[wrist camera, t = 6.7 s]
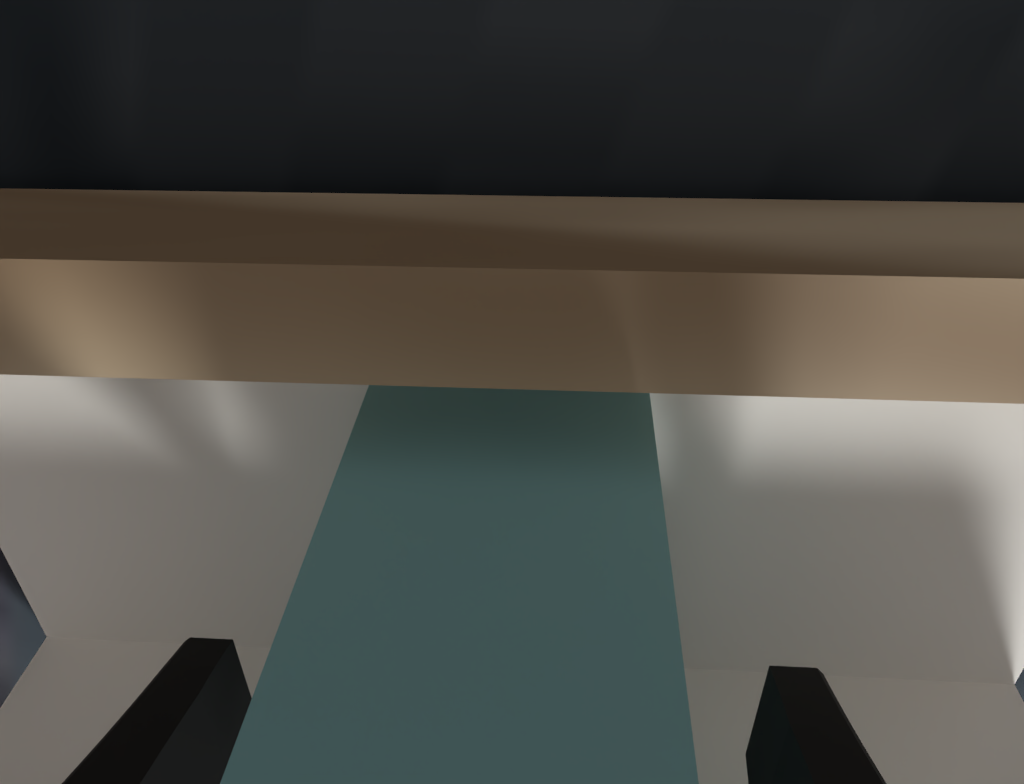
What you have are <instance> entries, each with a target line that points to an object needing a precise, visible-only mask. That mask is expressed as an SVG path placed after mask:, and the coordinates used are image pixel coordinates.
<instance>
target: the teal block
mask: <svg viewBox="0 0 1024 784" xmlns="http://www.w3.org/2000/svg"><path fill="white" fill-rule="evenodd" d="M220 784H699V782H698V774H697V766H696V758H695V751H694V743H693V735H692V727H691V719H690V711H689V703H688V695H687V687H686V679H685V671H684V663H683V655H682V647H681V639H680V631H679V623H678V615H677V607H676V599H675V591H674V583H673V575H672V568H671V560H670V552H669V544H668V536H667V528H666V520H665V512H664V504H663V496H662V488H661V480H660V472H659V464H658V456H657V448H656V440H655V432H654V424H653V416H652V408H651V400H650V393H629V392H594V391H559V390H524V389H490V388H455V387H420V386H385V385H369V386H368V389H367V392H366V394H365V397H364V400H363V402H362V405H361V408H360V410H359V413H358V416H357V418H356V421H355V424H354V426H353V429H352V432H351V434H350V437H349V440H348V442H347V445H346V448H345V451H344V453H343V456H342V459H341V461H340V464H339V467H338V469H337V472H336V475H335V477H334V480H333V483H332V485H331V488H330V491H329V493H328V496H327V499H326V501H325V504H324V507H323V509H322V512H321V515H320V517H319V520H318V523H317V525H316V528H315V531H314V533H313V536H312V539H311V541H310V544H309V547H308V550H307V552H306V555H305V558H304V560H303V563H302V566H301V568H300V571H299V574H298V576H297V579H296V582H295V584H294V587H293V590H292V592H291V595H290V598H289V600H288V603H287V606H286V608H285V611H284V614H283V616H282V619H281V622H280V624H279V627H278V630H277V632H276V635H275V638H274V640H273V643H272V646H271V649H270V651H269V654H268V657H267V659H266V662H265V665H264V667H263V670H262V673H261V675H260V678H259V681H258V683H257V686H256V689H255V691H254V694H253V697H252V699H251V702H250V705H249V707H248V710H247V713H246V715H245V718H244V721H243V723H242V726H241V729H240V731H239V734H238V737H237V739H236V742H235V745H234V748H233V750H232V753H231V756H230V758H229V761H228V764H227V766H226V769H225V772H224V774H223V777H222V780H221V782H220Z"/></svg>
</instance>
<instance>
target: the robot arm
mask: <svg viewBox="0 0 1024 784" xmlns="http://www.w3.org/2000/svg"><path fill="white" fill-rule="evenodd" d="M251 699H252V697H251V694H250V691H249V688H248V685H247V682H246V679H245V676H244V672H243V669H242V666H241V663H240V660H239V657H238V654H237V651H236V647H235V644H234V641H233V639H213V638H193V637H190V638H188V639H187V640H186V641H185V642H184V643H183V644H182V645H181V646H180V647H179V649H178V650H177V651H176V652H175V653H174V655H173V656H172V657H171V658H170V659H169V660H168V662H167V663H166V664H165V665H164V666H163V668H162V669H161V670H160V671H159V672H158V674H157V675H156V676H155V677H154V678H153V680H152V681H151V682H150V683H149V684H148V686H147V687H146V688H145V689H144V690H143V692H142V693H141V694H140V695H139V696H138V697H137V699H136V700H135V701H134V702H133V703H132V705H131V706H130V707H129V708H128V709H127V710H126V711H125V713H124V714H123V715H122V716H121V717H120V718H119V720H118V721H117V722H116V723H115V724H114V725H113V727H112V728H111V729H110V730H109V731H108V732H107V734H106V735H105V736H104V737H103V738H102V739H101V740H100V741H99V743H98V744H97V745H96V746H95V747H94V748H93V749H92V750H91V752H90V753H89V754H88V755H87V756H86V757H85V758H84V759H83V760H82V762H81V763H80V764H79V765H78V766H77V767H76V768H75V769H74V771H73V772H72V773H71V774H70V775H69V776H68V777H67V778H66V779H65V781H64V782H63V783H62V784H220V782H221V780H222V777H223V774H224V772H225V769H226V766H227V764H228V761H229V758H230V756H231V753H232V750H233V748H234V745H235V742H236V739H237V737H238V734H239V731H240V729H241V726H242V723H243V721H244V718H245V715H246V713H247V710H248V707H249V705H250V702H251ZM745 756H746V765H747V774H748V783H749V784H886V782H885V780H884V779H883V777H882V775H881V774H880V772H879V770H878V769H877V767H876V765H875V764H874V762H873V761H872V759H871V757H870V756H869V754H868V752H867V751H866V749H865V747H864V746H863V744H862V742H861V740H860V739H859V737H858V735H857V734H856V732H855V730H854V728H853V727H852V725H851V723H850V721H849V720H848V718H847V716H846V714H845V713H844V711H843V709H842V707H841V705H840V704H839V702H838V700H837V698H836V696H835V695H834V693H833V691H832V689H831V687H830V685H829V684H828V682H827V680H826V678H825V676H824V674H823V673H822V672H821V671H820V670H819V669H818V668H810V667H790V666H769V668H768V672H767V676H766V680H765V683H764V687H763V691H762V694H761V698H760V702H759V706H758V709H757V713H756V717H755V720H754V724H753V728H752V732H751V735H750V739H749V743H748V746H747V750H746V754H745Z"/></svg>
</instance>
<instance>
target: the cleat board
mask: <svg viewBox="0 0 1024 784" xmlns="http://www.w3.org/2000/svg"><path fill="white" fill-rule="evenodd" d="M369 385H385V386H420V387H455V388H490V389H524V390H559V391H594V392H629V393H650V400H651V408H652V416H653V424H654V432H655V440H656V448H657V456H658V464H659V472H660V480H661V488H662V496H663V504H664V512H665V520H666V528H667V536H668V544H669V552H670V560H671V568H672V575H673V583H674V591H675V599H676V607H677V615H678V623H679V631H680V639H681V647H682V655H683V663H684V671H685V679H686V687H687V695H688V703H689V711H690V719H691V727H692V735H693V743H694V751H695V758H696V766H697V774H698V782H699V784H749V783H748V774H747V765H746V756H745V754H746V750H747V746H748V743H749V739H750V735H751V732H752V728H753V724H754V720H755V717H756V713H757V709H758V706H759V702H760V698H761V694H762V691H763V687H764V683H765V680H766V676H767V672H768V668H769V666H790V667H810V668H818V669H819V670H820V671H821V672H822V673H823V674H824V676H825V678H826V680H827V682H828V684H829V685H830V687H831V689H832V691H833V693H834V695H835V696H836V698H837V700H838V702H839V704H840V705H841V707H842V709H843V711H844V713H845V714H846V716H847V718H848V720H849V721H850V723H851V725H852V727H853V728H854V730H855V732H856V734H857V735H858V737H859V739H860V740H861V742H862V744H863V746H864V747H865V749H866V751H867V752H868V754H869V756H870V757H871V759H872V761H873V762H874V764H875V765H876V767H877V769H878V770H879V772H880V774H881V775H882V777H883V779H884V780H885V782H886V784H1024V702H1023V700H1022V698H1021V696H1020V694H1019V692H1018V691H1017V689H1016V687H1015V685H1014V684H1015V682H1016V681H1017V679H1018V677H1019V675H1020V673H1021V672H1022V670H1023V668H1024V203H994V202H923V201H853V200H782V199H711V198H641V197H571V196H500V195H429V194H359V193H288V192H218V191H147V190H77V189H6V188H0V548H1V550H2V552H3V554H4V556H5V558H6V559H7V561H8V563H9V565H10V567H11V569H12V571H13V573H14V575H15V577H16V579H17V581H18V582H19V584H20V586H21V588H22V590H23V592H24V594H25V596H26V598H27V600H28V602H29V604H30V606H31V607H32V609H33V611H34V613H35V615H36V617H37V619H38V621H39V623H40V625H41V627H42V629H43V631H44V632H45V634H46V636H47V637H46V639H45V640H44V642H43V644H42V645H41V647H40V648H39V650H38V651H37V653H36V654H35V656H34V657H33V659H32V660H31V662H30V663H29V665H28V666H27V668H26V670H25V671H24V673H23V674H22V676H21V677H20V679H19V680H18V682H17V683H16V685H15V686H14V688H13V689H12V691H11V692H10V694H9V695H8V697H7V699H6V700H5V702H4V703H3V705H2V706H1V708H0V784H62V783H63V782H64V781H65V779H66V778H67V777H68V776H69V775H70V774H71V773H72V772H73V771H74V769H75V768H76V767H77V766H78V765H79V764H80V763H81V762H82V760H83V759H84V758H85V757H86V756H87V755H88V754H89V753H90V752H91V750H92V749H93V748H94V747H95V746H96V745H97V744H98V743H99V741H100V740H101V739H102V738H103V737H104V736H105V735H106V734H107V732H108V731H109V730H110V729H111V728H112V727H113V725H114V724H115V723H116V722H117V721H118V720H119V718H120V717H121V716H122V715H123V714H124V713H125V711H126V710H127V709H128V708H129V707H130V706H131V705H132V703H133V702H134V701H135V700H136V699H137V697H138V696H139V695H140V694H141V693H142V692H143V690H144V689H145V688H146V687H147V686H148V684H149V683H150V682H151V681H152V680H153V678H154V677H155V676H156V675H157V674H158V672H159V671H160V670H161V669H162V668H163V666H164V665H165V664H166V663H167V662H168V660H169V659H170V658H171V657H172V656H173V655H174V653H175V652H176V651H177V650H178V649H179V647H180V646H181V645H182V644H183V643H184V642H185V641H186V640H187V639H188V638H190V637H193V638H213V639H233V641H234V644H235V647H236V651H237V654H238V657H239V660H240V663H241V666H242V669H243V672H244V676H245V679H246V682H247V685H248V688H249V691H250V694H251V697H253V694H254V691H255V689H256V686H257V683H258V681H259V678H260V675H261V673H262V670H263V667H264V665H265V662H266V659H267V657H268V654H269V651H270V649H271V646H272V643H273V640H274V638H275V635H276V632H277V630H278V627H279V624H280V622H281V619H282V616H283V614H284V611H285V608H286V606H287V603H288V600H289V598H290V595H291V592H292V590H293V587H294V584H295V582H296V579H297V576H298V574H299V571H300V568H301V566H302V563H303V560H304V558H305V555H306V552H307V550H308V547H309V544H310V541H311V539H312V536H313V533H314V531H315V528H316V525H317V523H318V520H319V517H320V515H321V512H322V509H323V507H324V504H325V501H326V499H327V496H328V493H329V491H330V488H331V485H332V483H333V480H334V477H335V475H336V472H337V469H338V467H339V464H340V461H341V459H342V456H343V453H344V451H345V448H346V445H347V442H348V440H349V437H350V434H351V432H352V429H353V426H354V424H355V421H356V418H357V416H358V413H359V410H360V408H361V405H362V402H363V400H364V397H365V394H366V392H367V389H368V386H369Z"/></svg>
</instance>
